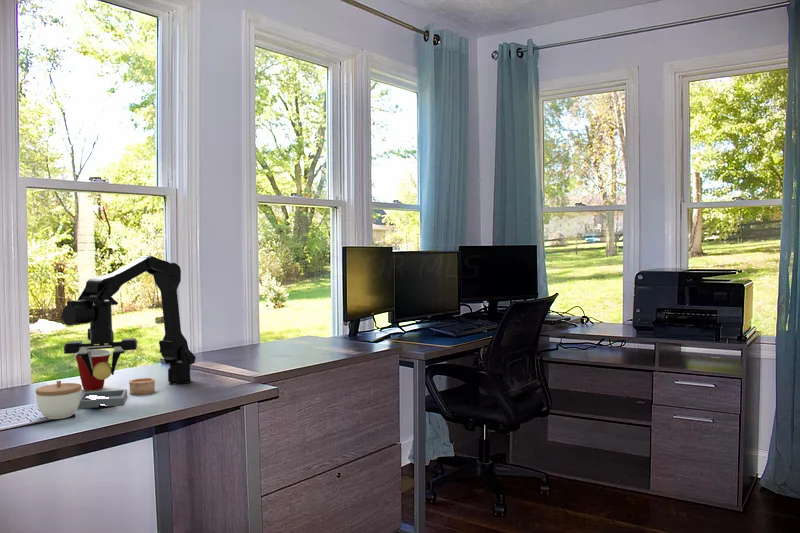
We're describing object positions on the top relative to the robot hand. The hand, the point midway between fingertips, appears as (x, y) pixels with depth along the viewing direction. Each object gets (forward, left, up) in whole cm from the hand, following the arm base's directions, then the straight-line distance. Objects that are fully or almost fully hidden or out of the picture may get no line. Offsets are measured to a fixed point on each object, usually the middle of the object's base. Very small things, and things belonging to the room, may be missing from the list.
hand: (102, 375), depth 185 cm
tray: (0, 0, -8) cm, 8 cm away
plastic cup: (+5, -21, -8) cm, 23 cm away
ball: (0, 0, -1) cm, 1 cm away
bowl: (-10, -10, -8) cm, 16 cm away
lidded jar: (+9, +13, -8) cm, 18 cm away
